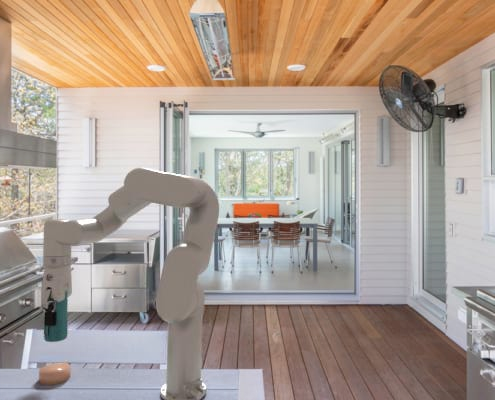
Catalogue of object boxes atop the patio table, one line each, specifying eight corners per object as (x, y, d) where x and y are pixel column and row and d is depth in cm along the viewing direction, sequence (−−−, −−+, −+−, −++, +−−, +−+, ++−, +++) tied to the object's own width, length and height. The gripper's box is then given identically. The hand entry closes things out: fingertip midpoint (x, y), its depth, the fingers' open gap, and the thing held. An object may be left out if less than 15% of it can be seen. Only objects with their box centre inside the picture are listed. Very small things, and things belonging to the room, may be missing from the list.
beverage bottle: (71, 340, 122) (73, 274, 122) (59, 348, 115) (61, 278, 115) (51, 339, 122) (53, 273, 122) (38, 346, 116) (39, 277, 116)
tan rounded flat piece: (74, 379, 118) (74, 369, 118) (43, 388, 113) (43, 377, 113) (65, 370, 124) (65, 360, 124) (35, 377, 119) (35, 367, 119)
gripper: (57, 266, 110) (55, 331, 110) (81, 257, 127) (79, 313, 127) (29, 265, 110) (28, 331, 110) (57, 256, 127) (55, 313, 127)
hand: (55, 321), depth 119 cm, fingers closed on beverage bottle, 6 cm apart
